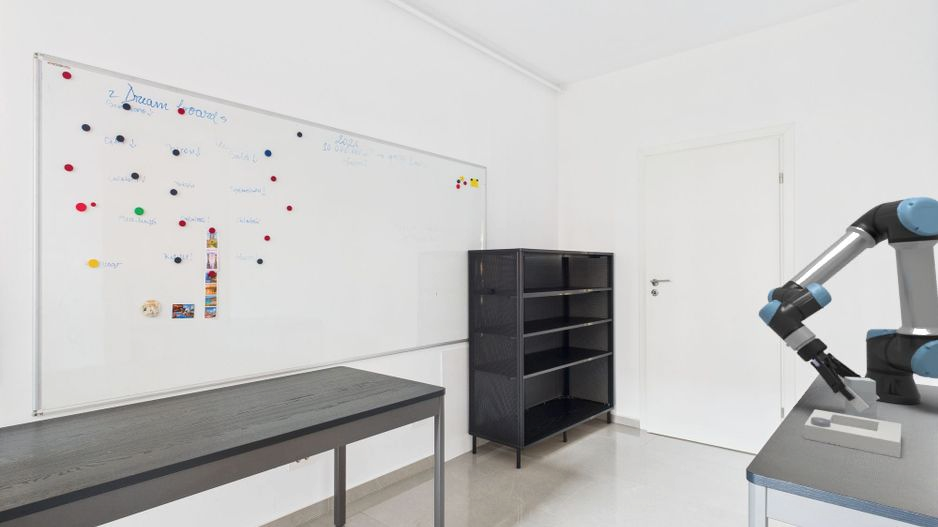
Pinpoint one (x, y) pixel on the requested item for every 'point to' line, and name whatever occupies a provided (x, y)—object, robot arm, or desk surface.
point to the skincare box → (862, 396)
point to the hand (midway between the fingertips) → (870, 405)
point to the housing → (854, 432)
